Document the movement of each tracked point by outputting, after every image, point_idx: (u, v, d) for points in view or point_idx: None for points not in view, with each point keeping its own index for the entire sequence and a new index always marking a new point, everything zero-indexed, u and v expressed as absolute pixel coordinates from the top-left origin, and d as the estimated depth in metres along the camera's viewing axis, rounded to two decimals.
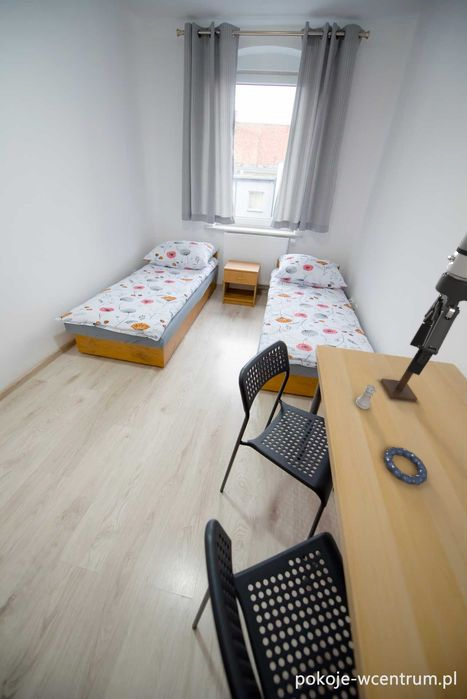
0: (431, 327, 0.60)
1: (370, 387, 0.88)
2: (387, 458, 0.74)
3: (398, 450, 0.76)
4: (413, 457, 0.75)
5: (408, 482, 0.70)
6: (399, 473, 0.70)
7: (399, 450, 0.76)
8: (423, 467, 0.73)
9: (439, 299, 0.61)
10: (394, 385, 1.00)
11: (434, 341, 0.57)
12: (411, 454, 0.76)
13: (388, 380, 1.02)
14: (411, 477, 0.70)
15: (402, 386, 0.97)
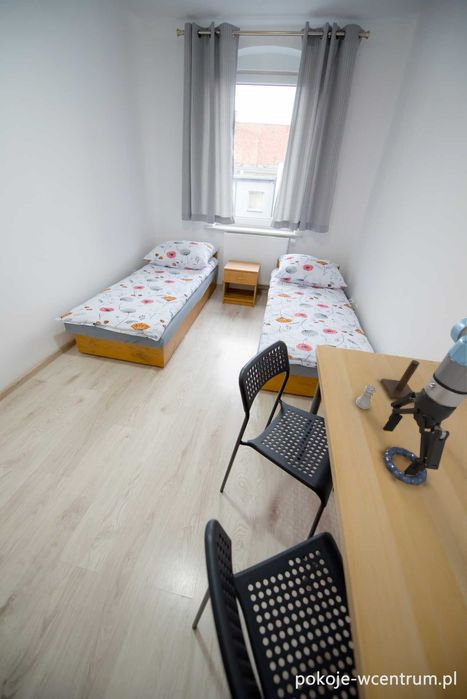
0: (422, 441, 0.66)
1: (370, 387, 0.88)
2: (387, 458, 0.74)
3: (398, 450, 0.76)
4: (413, 457, 0.75)
5: (407, 482, 0.70)
6: (398, 473, 0.71)
7: (399, 450, 0.76)
8: None
9: (418, 410, 0.69)
10: (394, 385, 1.00)
11: (434, 460, 0.64)
12: (411, 454, 0.76)
13: (388, 380, 1.02)
14: (410, 477, 0.70)
15: (402, 386, 0.97)
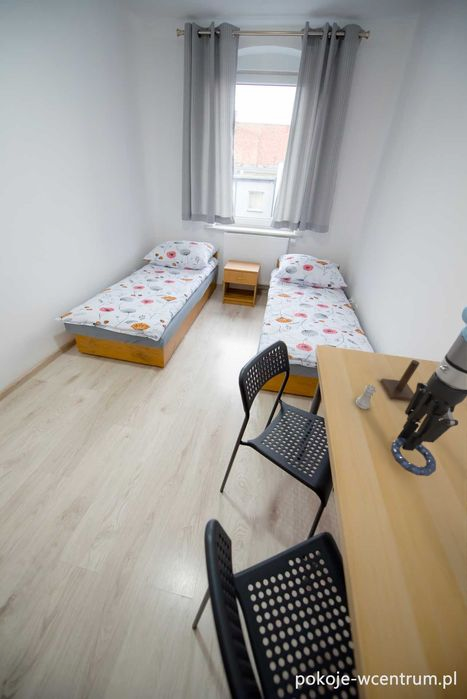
0: (426, 421, 0.67)
1: (370, 387, 0.88)
2: (394, 449, 0.72)
3: (405, 441, 0.74)
4: (421, 447, 0.73)
5: (417, 473, 0.67)
6: (407, 464, 0.68)
7: None
8: (431, 457, 0.70)
9: (429, 394, 0.66)
10: (394, 385, 1.00)
11: (432, 437, 0.65)
12: None
13: (388, 380, 1.02)
14: (420, 468, 0.68)
15: (402, 386, 0.97)
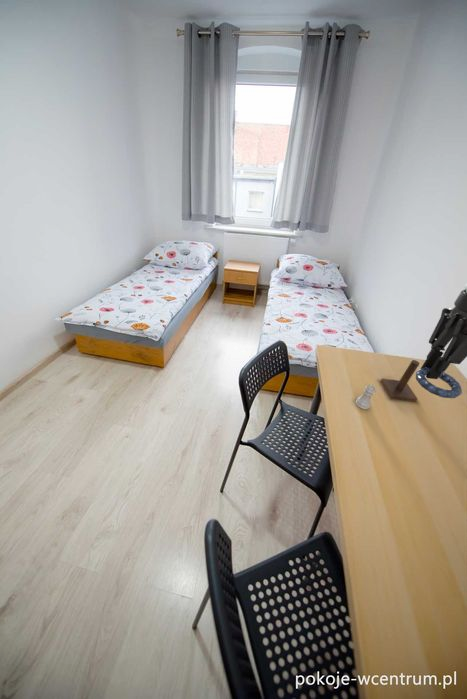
0: (453, 342, 0.67)
1: (370, 387, 0.88)
2: (420, 376, 0.72)
3: (429, 370, 0.74)
4: (445, 375, 0.73)
5: (444, 395, 0.68)
6: (434, 387, 0.68)
7: None
8: (457, 382, 0.71)
9: (456, 314, 0.66)
10: (394, 385, 1.00)
11: (460, 357, 0.66)
12: (442, 373, 0.74)
13: (388, 380, 1.02)
14: (447, 390, 0.68)
15: (402, 386, 0.97)
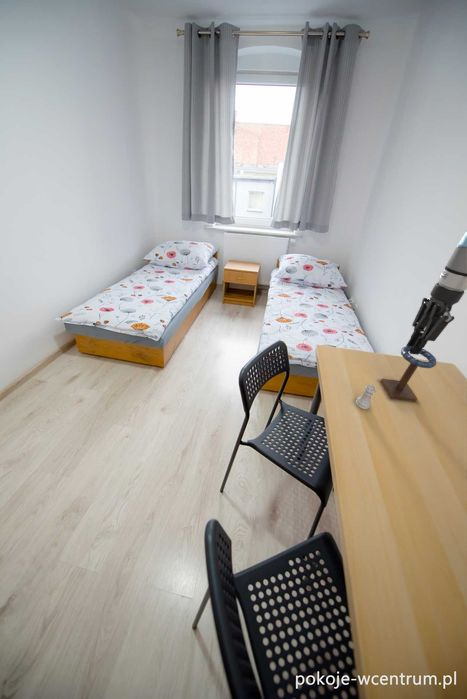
0: (429, 324, 0.86)
1: (370, 387, 0.88)
2: (404, 351, 0.91)
3: None
4: (424, 351, 0.92)
5: (422, 365, 0.87)
6: (415, 359, 0.87)
7: None
8: (433, 356, 0.90)
9: (432, 302, 0.85)
10: (394, 385, 1.00)
11: (434, 335, 0.85)
12: (422, 349, 0.93)
13: (388, 380, 1.02)
14: (424, 362, 0.87)
15: (402, 386, 0.97)
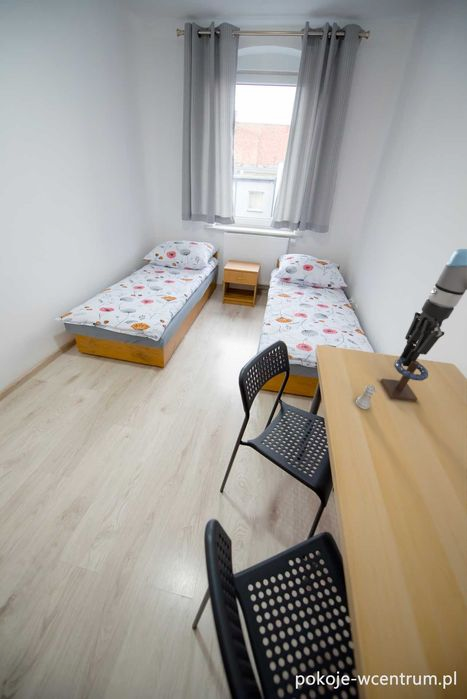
0: (421, 338, 0.89)
1: (370, 387, 0.88)
2: (397, 364, 0.94)
3: (405, 359, 0.96)
4: None
5: (414, 378, 0.90)
6: (407, 372, 0.91)
7: None
8: (425, 369, 0.93)
9: (423, 317, 0.88)
10: (394, 385, 1.00)
11: (425, 349, 0.88)
12: None
13: (388, 380, 1.02)
14: (416, 374, 0.90)
15: (402, 386, 0.97)
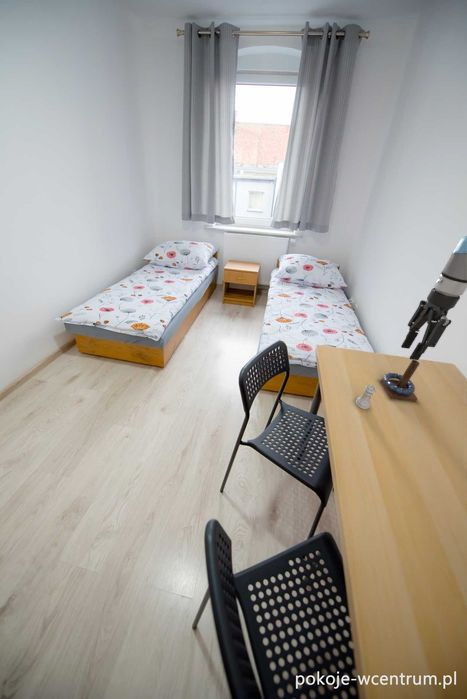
0: (427, 329, 0.86)
1: (370, 387, 0.88)
2: (385, 378, 1.00)
3: (394, 374, 1.02)
4: None
5: (400, 392, 0.95)
6: (393, 386, 0.96)
7: (395, 374, 1.02)
8: (412, 384, 0.98)
9: (428, 306, 0.86)
10: None
11: (433, 340, 0.85)
12: None
13: None
14: (402, 389, 0.96)
15: (402, 386, 0.97)
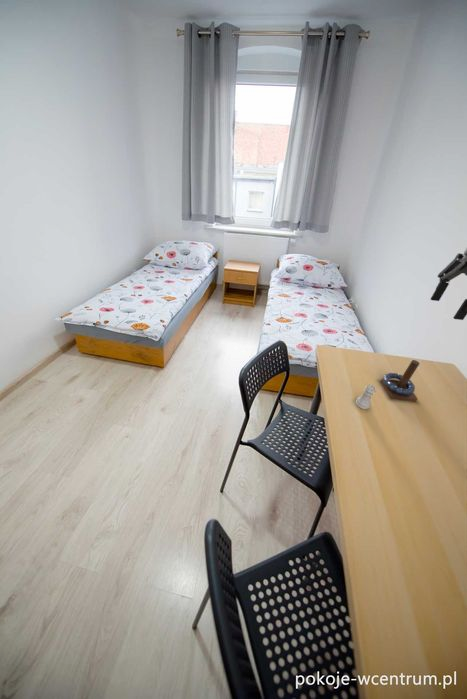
0: None
1: (370, 387, 0.88)
2: (385, 378, 1.00)
3: (394, 374, 1.02)
4: None
5: (400, 392, 0.95)
6: (393, 386, 0.96)
7: (395, 374, 1.02)
8: (412, 384, 0.98)
9: (466, 262, 0.84)
10: None
11: None
12: None
13: None
14: (402, 389, 0.96)
15: (402, 386, 0.97)
